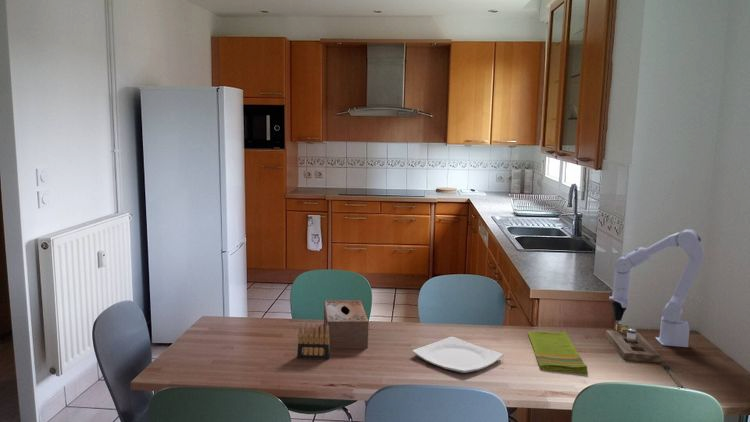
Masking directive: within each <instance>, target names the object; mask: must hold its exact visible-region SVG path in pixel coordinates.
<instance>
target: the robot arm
mask: <svg viewBox="0 0 750 422" xmlns="http://www.w3.org/2000/svg"><path fill="white" fill-rule="evenodd" d="M671 247H673V248H678V247H680V248H682V249H683V251H685V253H686V254H687V256H688V258H689V259H688V261H687V263H686V266H685V267H684V269H683V272H682V274H681V276H680V278H679V281H678V282H677V285H676V287H675V289H674V292H673V294H672V296H671V298H670V300H669V301H668V302H667V303H666V304H665V305H664V306H665V307H663V309H662V310H661V311H662V312H661V315H662V317H660V318H661V319H660V328H659V336H655V338H654V339H655V340H657V342H659V344H660V345H661V346H667V347H678V348H679V347H683V348H689V337H690V324H689V323H688V321H684V320H683V319H682V317H681V316H682V314H683V312H684V305H685V304H684V303H685V301H686V299H687V297H688V295H689V292H690V290H691V288H692V287H693V284H694V282H695V280H696V278H697V275H698V273H699V272H700V268H701V267H702V265H703V263H704V260H705V259H706V255H705V254H706V253H705V249H704V246H703V240H702V238H701V236H700V235H699V233H698V232H697V231H696V230H694V229H692V228H686V229H683V230H682V231H678V232H675V233H673V234H670V235H667V236H666V237H664V238H662V239H661V240H659V241H657V242H655V243H654V244H652V245H650V246H648V247H642V246H640V247H636V248H634V250H633V251H630V252H629V253H624V254H623V256H621V257H619V258H618V259H617V260H615V262H614V264H613V265H614V266H613V267H614V269H615V270H614V275H613V276H614V277H613V287H612V295H611V296H609V297H608V298H609V300H611V301H610V304H611V307H612V309H613V318H614V320H615V321H619V322H621V321H622V320H623V316H624V314H625V311H626V310H627V309H628V307H629V293H630V280H631V269H632V268H636V267H638V266H640V265H643V264H645V263H646V262H649V261H650V259H651V256H652V255H655V254H657V253H659V252H661V251H664V250H665V249H668V248H671ZM612 300H613V301H612Z"/></svg>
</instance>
